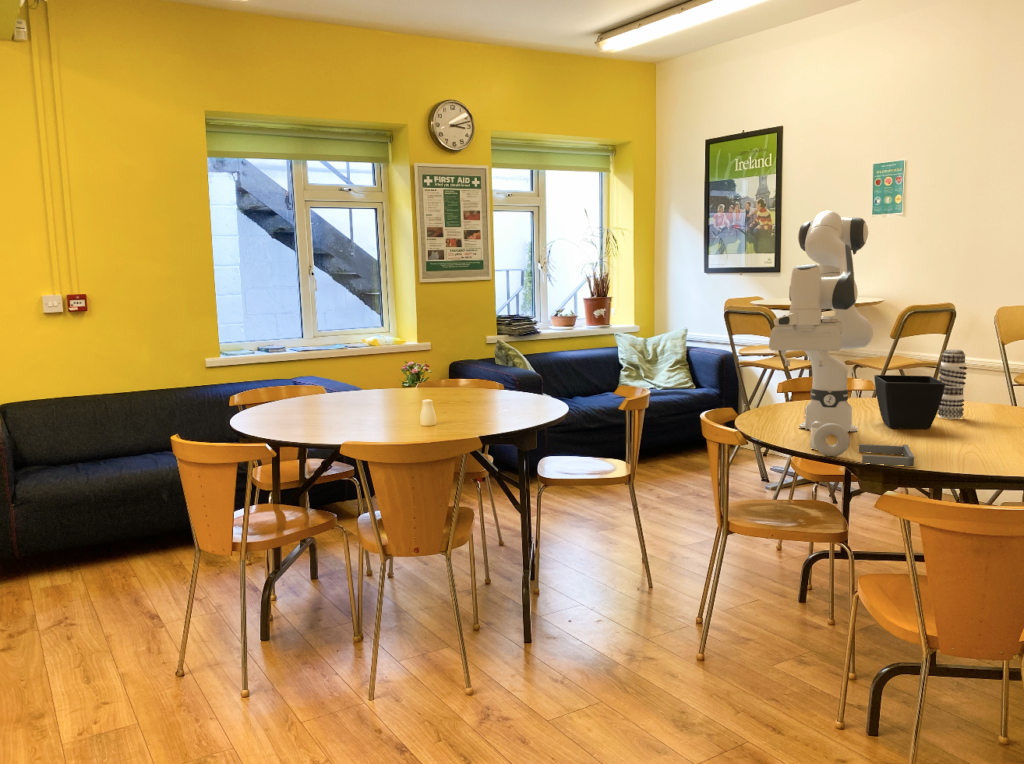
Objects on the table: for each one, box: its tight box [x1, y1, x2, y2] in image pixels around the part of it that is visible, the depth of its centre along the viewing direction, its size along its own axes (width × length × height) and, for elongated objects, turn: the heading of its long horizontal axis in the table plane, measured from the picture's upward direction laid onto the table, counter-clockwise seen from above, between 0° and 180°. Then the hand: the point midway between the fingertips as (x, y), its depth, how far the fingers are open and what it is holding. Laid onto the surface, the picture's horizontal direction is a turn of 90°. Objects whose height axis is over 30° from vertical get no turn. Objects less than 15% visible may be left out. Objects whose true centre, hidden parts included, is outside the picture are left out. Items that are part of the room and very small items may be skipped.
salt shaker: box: [809, 421, 823, 449], centre depth 255 cm, size 4×4×9 cm
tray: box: [858, 443, 915, 466], centre depth 240 cm, size 17×13×3 cm
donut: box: [814, 423, 851, 457], centre depth 245 cm, size 10×4×10 cm, turn 65°
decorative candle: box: [937, 349, 968, 420], centre depth 306 cm, size 9×9×25 cm
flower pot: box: [874, 374, 945, 430], centre depth 291 cm, size 19×19×17 cm
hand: (804, 366), depth 246 cm, fingers open, 8 cm apart
